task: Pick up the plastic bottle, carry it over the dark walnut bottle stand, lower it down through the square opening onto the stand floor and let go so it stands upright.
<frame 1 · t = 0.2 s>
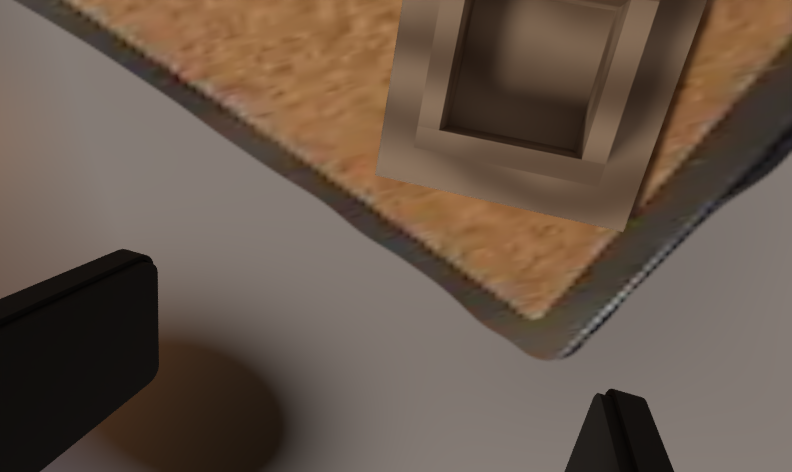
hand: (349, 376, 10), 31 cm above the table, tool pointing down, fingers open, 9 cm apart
bottle stand: (526, 72, 35), on the table
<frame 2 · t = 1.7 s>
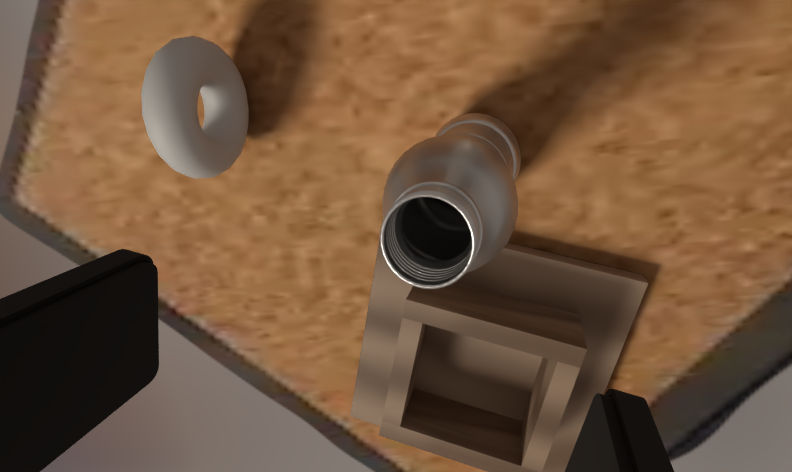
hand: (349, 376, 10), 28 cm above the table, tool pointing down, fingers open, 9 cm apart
donut: (240, 106, 39), on the table
plastic bottle: (476, 156, 35), on the table
bottle stand: (480, 349, 40), on the table
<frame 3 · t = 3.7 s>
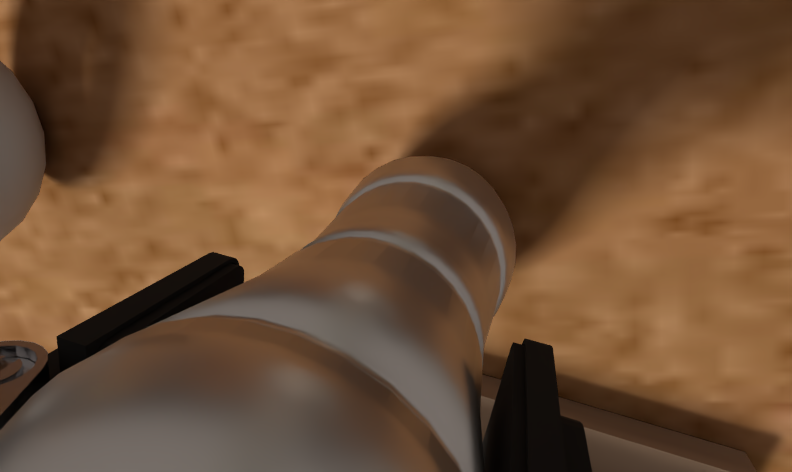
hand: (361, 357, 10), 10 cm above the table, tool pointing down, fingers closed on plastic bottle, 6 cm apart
donut: (39, 131, 23), on the table
plastic bottle: (436, 228, 19), on the table, touching gripper
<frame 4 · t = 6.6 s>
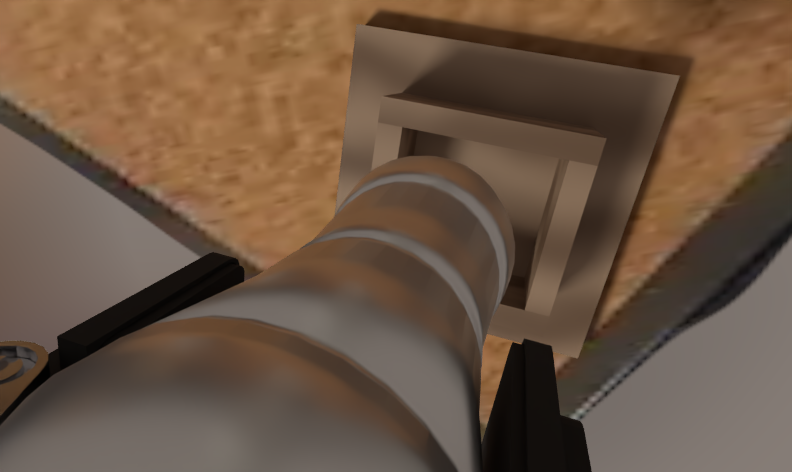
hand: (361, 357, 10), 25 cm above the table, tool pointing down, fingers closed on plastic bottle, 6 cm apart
plastic bottle: (434, 228, 19), point 15 cm above the table, touching gripper
bottle stand: (475, 195, 34), on the table
when the fingers open (12 cm above the table, at t = 9.6 s): plastic bottle drops 1 cm, resting on bottle stand.
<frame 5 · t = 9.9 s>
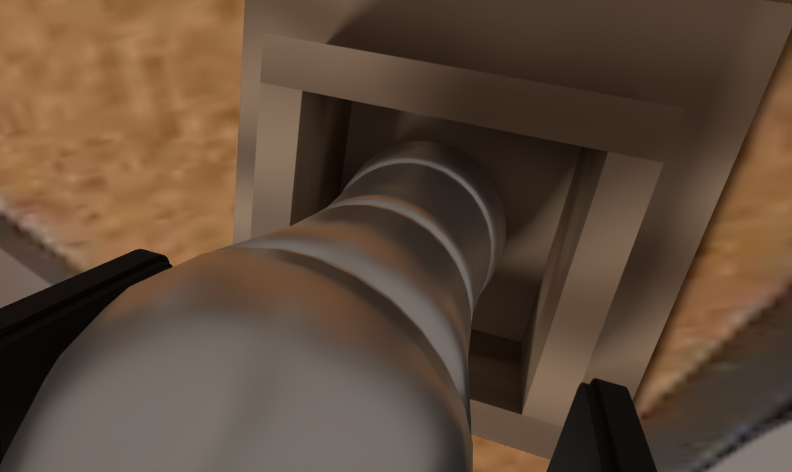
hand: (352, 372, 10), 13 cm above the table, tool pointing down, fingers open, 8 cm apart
plastic bottle: (433, 211, 21), point 1 cm above the table, touching bottle stand
bottle stand: (446, 212, 22), on the table
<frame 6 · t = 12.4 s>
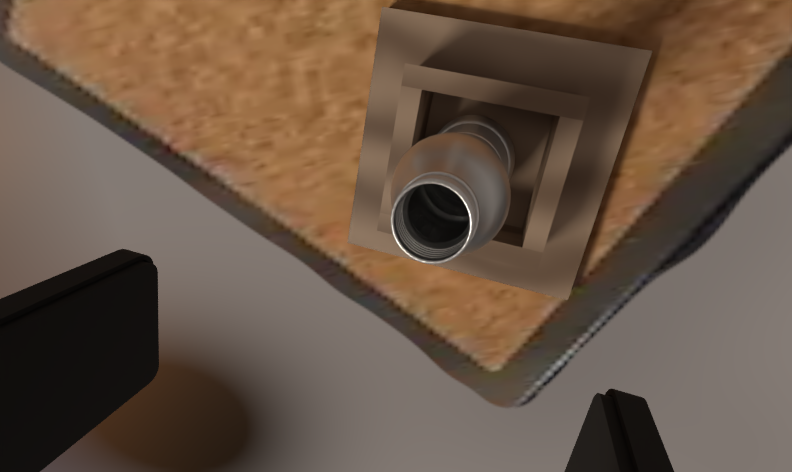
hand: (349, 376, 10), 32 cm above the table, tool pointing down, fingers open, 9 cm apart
plastic bottle: (474, 155, 38), point 1 cm above the table, touching bottle stand
bottle stand: (480, 157, 39), on the table
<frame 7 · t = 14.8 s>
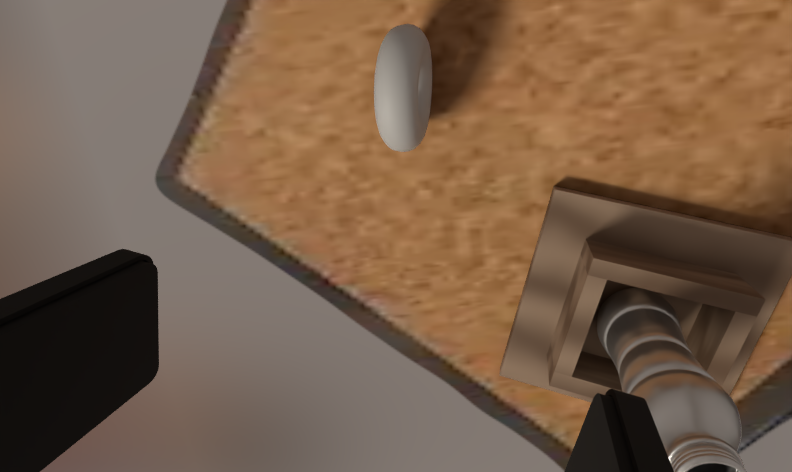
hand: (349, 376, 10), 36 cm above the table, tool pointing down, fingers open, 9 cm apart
donut: (418, 89, 43), on the table
plastic bottle: (630, 313, 43), point 1 cm above the table, touching bottle stand
bottle stand: (631, 310, 44), on the table
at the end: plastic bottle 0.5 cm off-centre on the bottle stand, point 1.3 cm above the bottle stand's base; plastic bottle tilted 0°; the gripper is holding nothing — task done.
